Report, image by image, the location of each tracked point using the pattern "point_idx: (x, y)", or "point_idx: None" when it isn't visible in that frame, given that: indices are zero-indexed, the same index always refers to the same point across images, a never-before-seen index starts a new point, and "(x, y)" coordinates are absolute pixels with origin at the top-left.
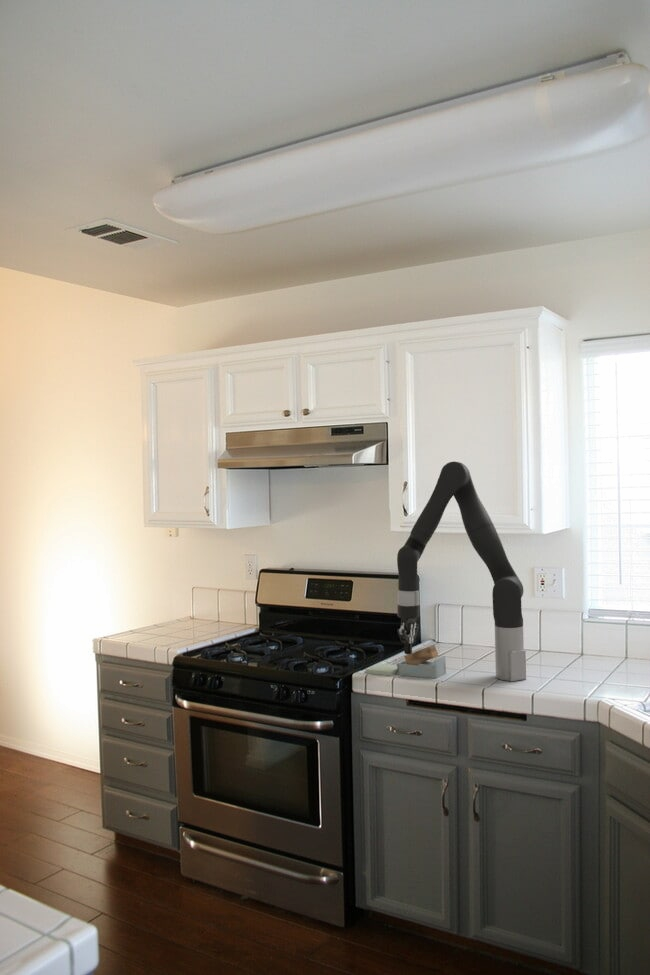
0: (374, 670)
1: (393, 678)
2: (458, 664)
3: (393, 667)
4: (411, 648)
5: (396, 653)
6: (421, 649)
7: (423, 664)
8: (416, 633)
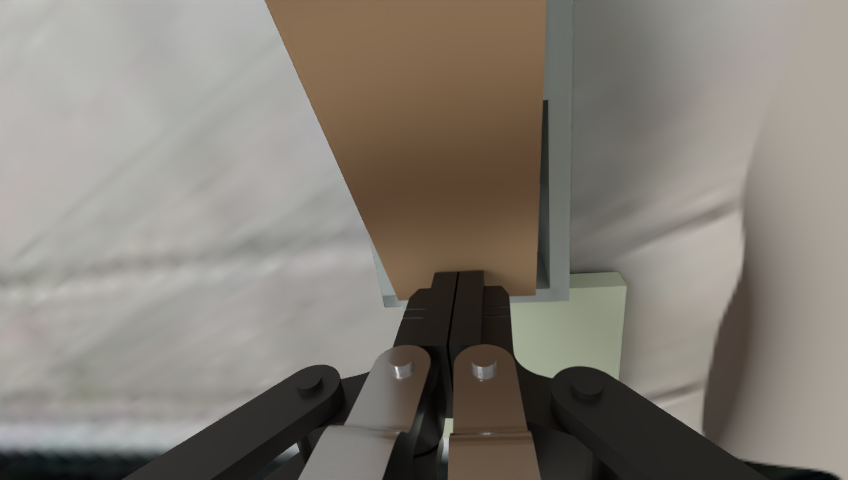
0: None
1: (684, 223)
2: (7, 41)
3: None
4: (440, 300)
5: (141, 456)
6: (384, 180)
7: (548, 30)
8: (206, 445)
